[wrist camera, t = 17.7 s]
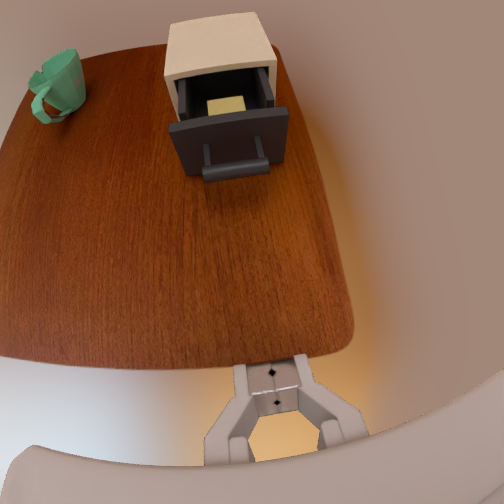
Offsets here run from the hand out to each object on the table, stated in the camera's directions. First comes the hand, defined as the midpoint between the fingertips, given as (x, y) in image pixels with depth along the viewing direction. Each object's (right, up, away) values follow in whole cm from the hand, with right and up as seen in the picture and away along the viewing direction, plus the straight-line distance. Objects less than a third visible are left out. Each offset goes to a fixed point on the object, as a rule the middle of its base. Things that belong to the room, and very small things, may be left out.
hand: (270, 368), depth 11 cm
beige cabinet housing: (-5, +29, +26) cm, 39 cm away
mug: (-32, +29, +27) cm, 51 cm away
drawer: (-3, +19, +22) cm, 29 cm away
